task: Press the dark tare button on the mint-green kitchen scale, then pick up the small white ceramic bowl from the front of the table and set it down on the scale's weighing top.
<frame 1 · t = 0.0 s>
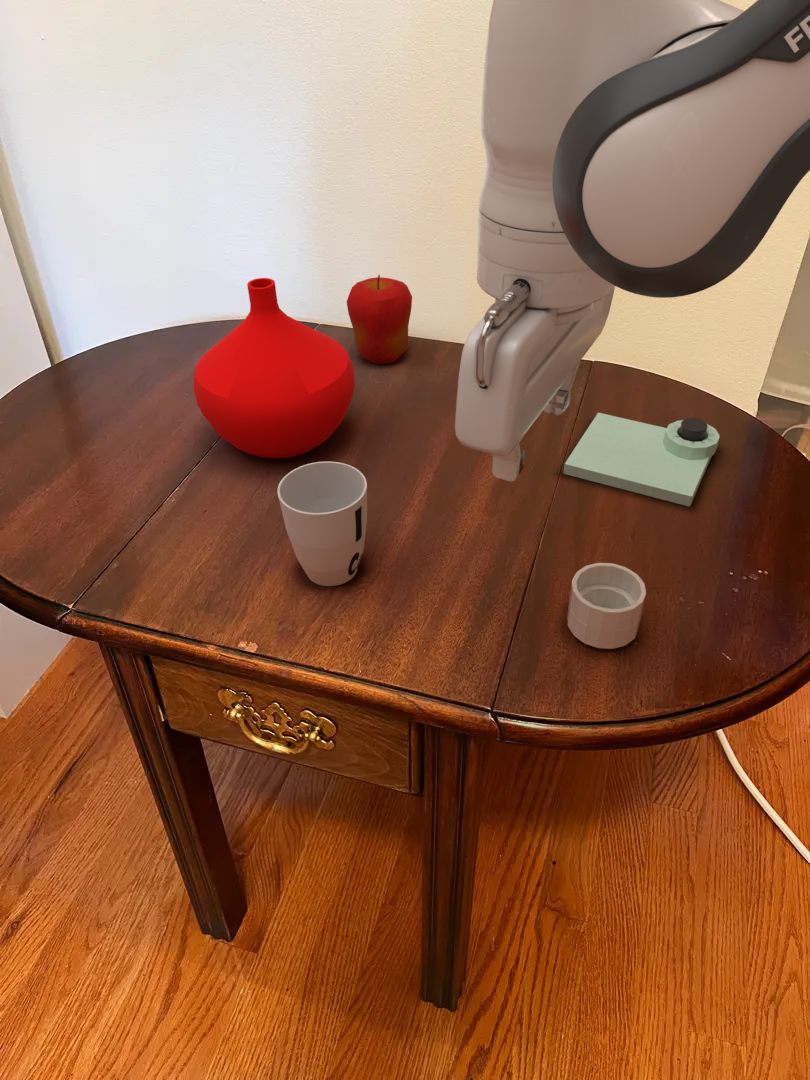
hand: (532, 440, 61), 21 cm above the table, tool pointing down, fingers open, 8 cm apart
bowl: (601, 627, 75), on the table
vase: (283, 437, 101), on the table
cup: (331, 570, 82), on the table
apple: (382, 357, 116), on the table
tare button: (693, 430, 93), point 3 cm above the table, slide at 0.1 cm
scale: (640, 461, 95), on the table
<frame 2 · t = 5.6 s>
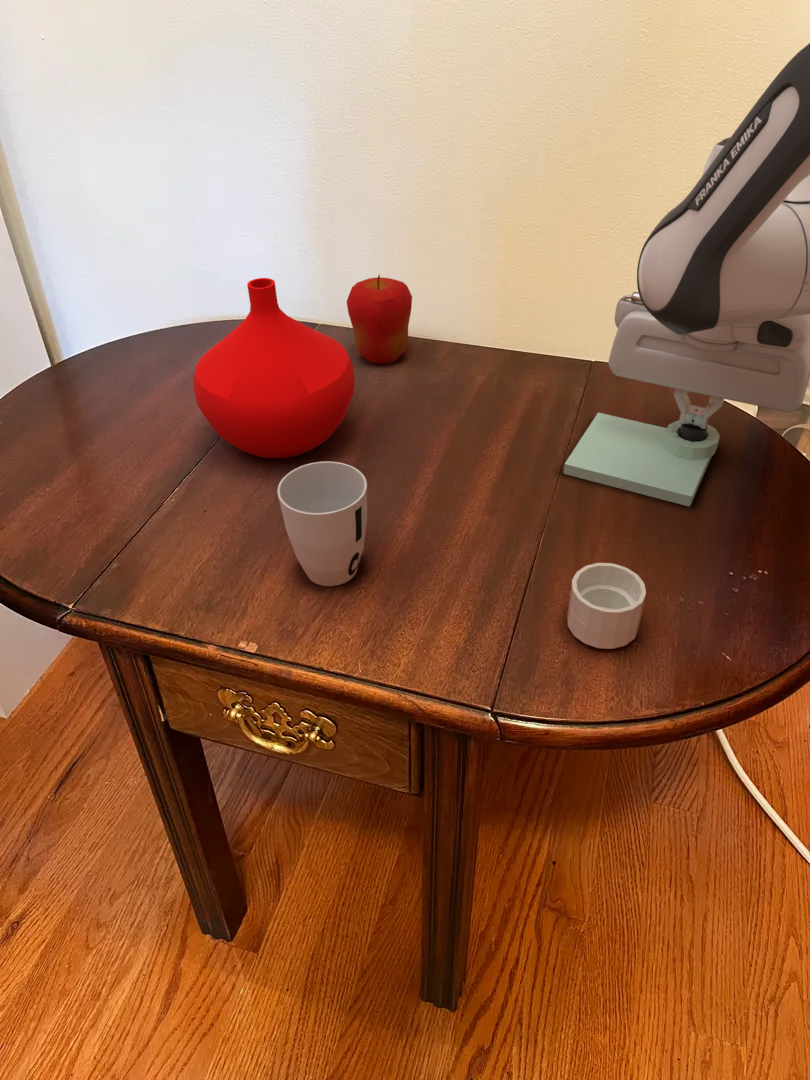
hand: (693, 424, 93), 4 cm above the table, tool pointing down, fingers closed, pressing on tare button
tare button: (693, 430, 93), point 3 cm above the table, slide at 0.1 cm, touching gripper
everything else where it was.
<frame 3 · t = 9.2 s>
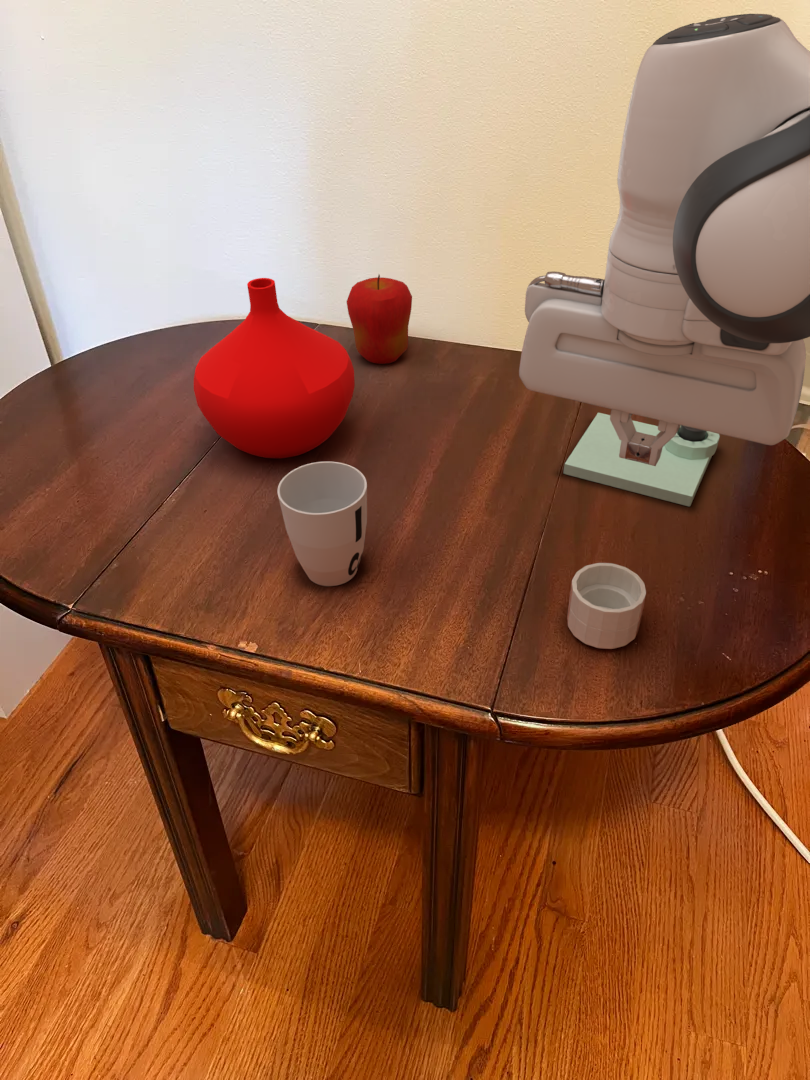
hand: (639, 458, 66), 17 cm above the table, tool pointing down, fingers closed
tare button: (693, 430, 93), point 3 cm above the table, slide at 0.1 cm
everything else where it was.
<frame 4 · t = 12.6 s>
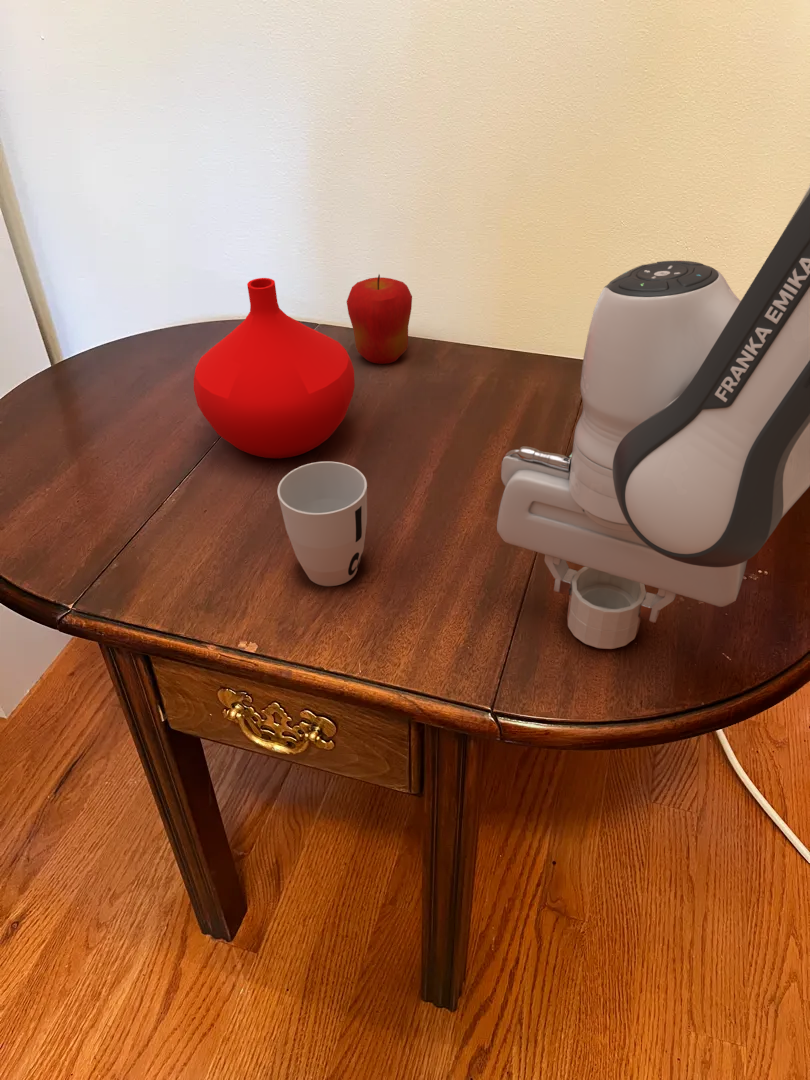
hand: (606, 602, 73), 3 cm above the table, tool pointing down, fingers closed on bowl, 6 cm apart
bowl: (601, 627, 75), on the table, touching gripper
everything else where it was.
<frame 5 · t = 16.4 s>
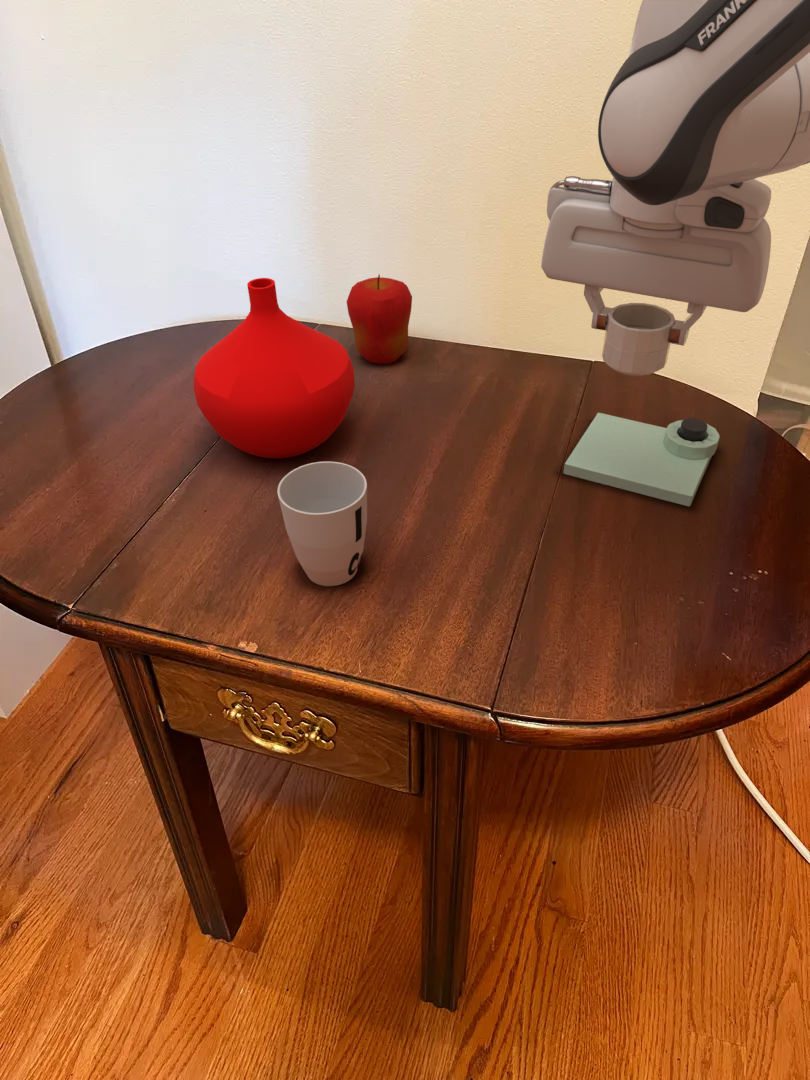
hand: (638, 334, 82), 17 cm above the table, tool pointing down, fingers closed on bowl, 6 cm apart
bowl: (633, 363, 84), point 14 cm above the table, touching gripper
everything else where it was.
when the fingers open (4 cm above the table, at t = 20.3 s): bowl stays where it is, resting on scale.
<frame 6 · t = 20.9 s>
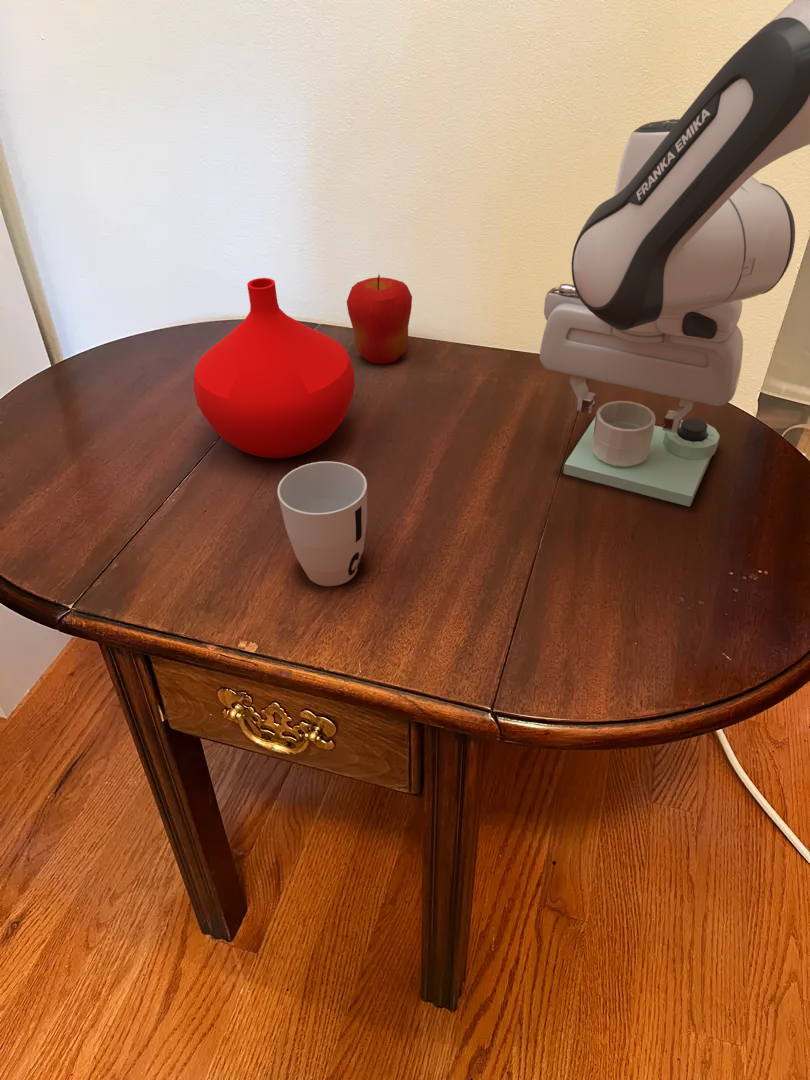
hand: (627, 419, 91), 6 cm above the table, tool pointing down, fingers open, 8 cm apart
bowl: (619, 453, 94), point 1 cm above the table, touching scale
everything else where it was.
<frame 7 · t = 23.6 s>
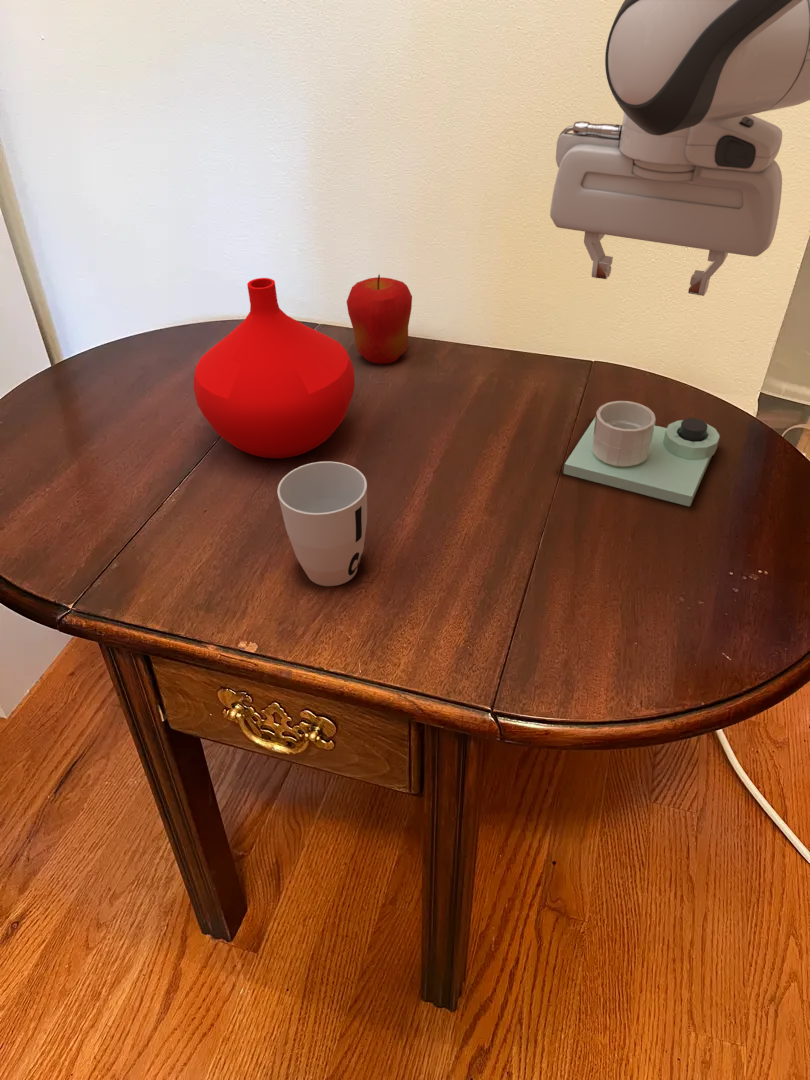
hand: (648, 284, 81), 21 cm above the table, tool pointing down, fingers open, 8 cm apart
nothing on the table moved.
at the end: tare button pushed in 0.9 cm at the most during the clip, back to where it started at the end; bowl inside the target area on the scale (2.6 cm from its centre), point 1.4 cm above the scale's base; bowl touching scale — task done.
